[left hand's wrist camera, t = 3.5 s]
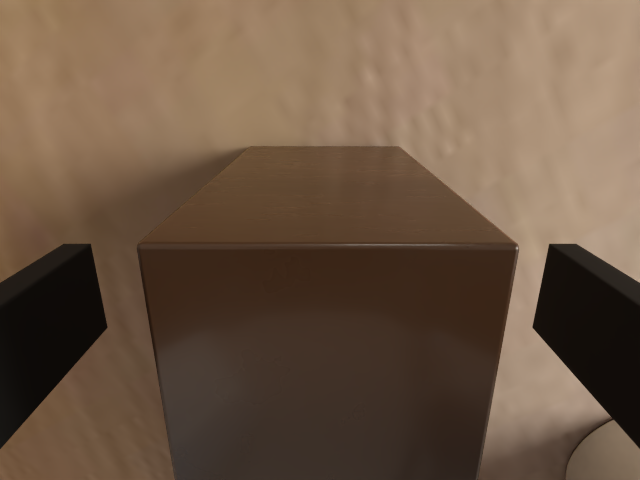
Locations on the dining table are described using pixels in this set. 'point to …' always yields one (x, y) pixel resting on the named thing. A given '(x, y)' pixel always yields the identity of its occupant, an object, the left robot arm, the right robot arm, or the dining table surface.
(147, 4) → the dining table surface
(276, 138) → the dining table surface
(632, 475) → the white canister
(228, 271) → the walnut beam
